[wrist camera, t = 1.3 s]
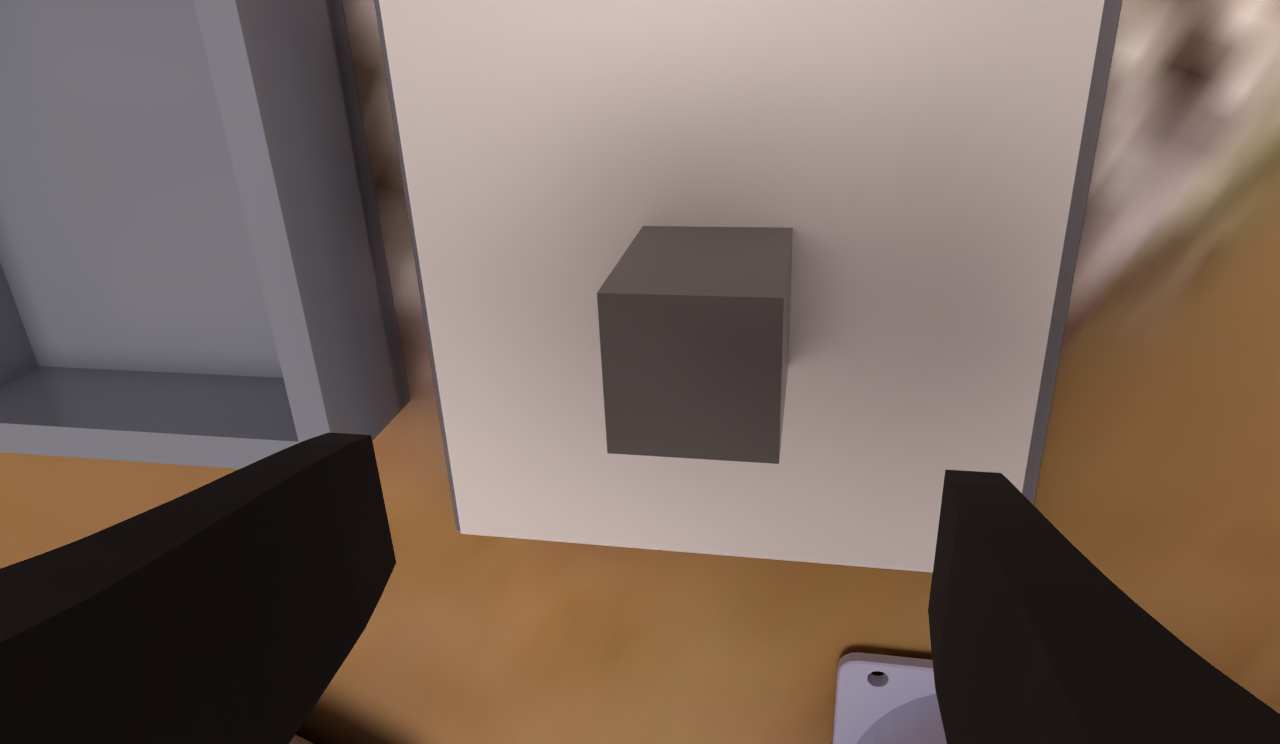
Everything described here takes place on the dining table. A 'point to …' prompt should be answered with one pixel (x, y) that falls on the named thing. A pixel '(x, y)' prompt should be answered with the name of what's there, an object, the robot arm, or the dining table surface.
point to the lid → (737, 259)
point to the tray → (187, 233)
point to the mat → (1066, 266)
